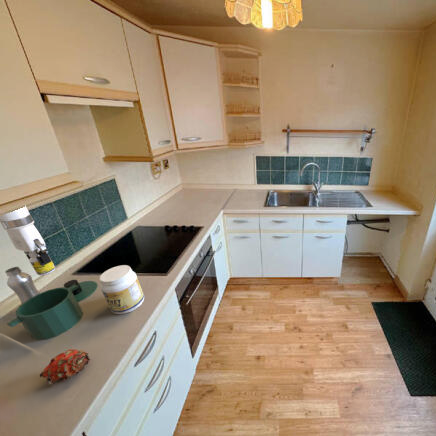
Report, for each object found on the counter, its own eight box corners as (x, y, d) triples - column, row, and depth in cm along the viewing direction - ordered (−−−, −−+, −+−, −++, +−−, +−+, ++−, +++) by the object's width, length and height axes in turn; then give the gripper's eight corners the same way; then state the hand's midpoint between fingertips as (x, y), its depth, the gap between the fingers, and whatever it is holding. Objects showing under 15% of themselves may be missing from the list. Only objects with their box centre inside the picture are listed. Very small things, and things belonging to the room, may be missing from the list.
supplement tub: (104, 314, 93) (87, 282, 86) (126, 293, 104) (113, 262, 97) (131, 316, 92) (117, 284, 84) (151, 295, 103) (140, 264, 95)
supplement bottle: (33, 276, 90) (21, 255, 86) (45, 268, 95) (34, 248, 91) (48, 275, 91) (36, 254, 87) (59, 267, 96) (48, 247, 92)
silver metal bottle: (21, 313, 94) (-7, 275, 86) (37, 301, 100) (12, 264, 92) (37, 313, 94) (11, 274, 86) (52, 301, 100) (29, 264, 92)
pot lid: (44, 302, 100) (37, 291, 97) (84, 279, 113) (78, 269, 110) (68, 311, 95) (60, 299, 92) (106, 286, 108) (100, 275, 106)
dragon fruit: (98, 368, 75) (54, 388, 71) (96, 342, 78) (53, 359, 74) (80, 371, 67) (30, 394, 64) (78, 342, 71) (30, 361, 67)
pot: (14, 340, 83) (-5, 317, 78) (76, 301, 100) (63, 279, 95) (38, 352, 79) (20, 328, 73) (99, 309, 96) (87, 287, 91)
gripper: (-11, 223, 83) (15, 264, 90) (18, 229, 78) (43, 271, 85) (17, 215, 89) (39, 253, 97) (45, 220, 84) (66, 260, 92)
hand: (41, 261), depth 91 cm, fingers closed on supplement bottle, 5 cm apart
